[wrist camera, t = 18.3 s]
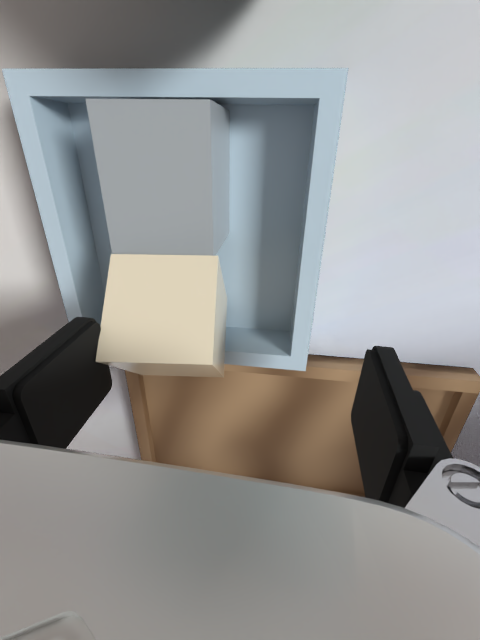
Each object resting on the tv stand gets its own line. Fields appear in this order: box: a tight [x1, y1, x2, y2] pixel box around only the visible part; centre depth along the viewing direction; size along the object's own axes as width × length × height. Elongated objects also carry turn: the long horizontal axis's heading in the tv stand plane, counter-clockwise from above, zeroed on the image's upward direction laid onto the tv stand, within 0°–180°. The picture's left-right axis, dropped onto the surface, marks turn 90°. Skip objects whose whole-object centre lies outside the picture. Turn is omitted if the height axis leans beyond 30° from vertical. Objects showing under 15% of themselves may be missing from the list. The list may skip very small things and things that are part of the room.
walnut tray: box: [125, 354, 480, 497], centre depth 22 cm, size 20×12×1 cm, turn 89°
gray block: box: [86, 99, 230, 256], centre depth 13 cm, size 4×4×5 cm
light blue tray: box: [2, 68, 348, 371], centre depth 15 cm, size 12×12×3 cm
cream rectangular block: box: [96, 254, 227, 377], centre depth 14 cm, size 4×4×5 cm
